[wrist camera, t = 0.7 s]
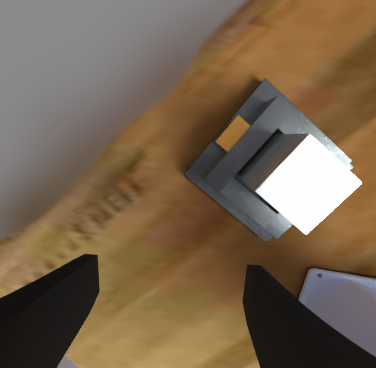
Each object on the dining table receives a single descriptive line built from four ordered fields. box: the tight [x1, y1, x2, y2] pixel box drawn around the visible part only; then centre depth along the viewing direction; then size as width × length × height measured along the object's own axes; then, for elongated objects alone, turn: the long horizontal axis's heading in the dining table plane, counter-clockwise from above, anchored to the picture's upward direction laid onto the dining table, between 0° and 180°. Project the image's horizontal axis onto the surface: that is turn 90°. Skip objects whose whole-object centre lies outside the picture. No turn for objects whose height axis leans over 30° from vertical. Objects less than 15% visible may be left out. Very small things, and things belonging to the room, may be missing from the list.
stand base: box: [184, 78, 353, 243], centre depth 17 cm, size 10×10×4 cm
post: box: [236, 134, 362, 235], centre depth 14 cm, size 4×4×6 cm
